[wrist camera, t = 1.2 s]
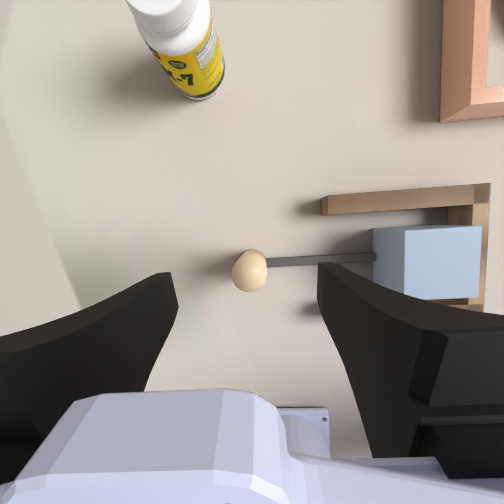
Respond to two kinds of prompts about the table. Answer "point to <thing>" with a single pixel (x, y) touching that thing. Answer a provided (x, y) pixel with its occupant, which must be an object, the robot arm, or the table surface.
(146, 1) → the supplement bottle
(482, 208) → the walnut lane
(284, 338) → the table surface
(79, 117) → the table surface
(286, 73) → the table surface
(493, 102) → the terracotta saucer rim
